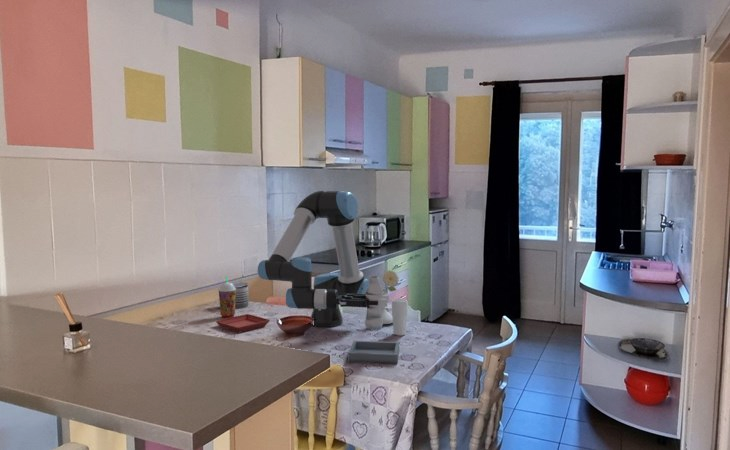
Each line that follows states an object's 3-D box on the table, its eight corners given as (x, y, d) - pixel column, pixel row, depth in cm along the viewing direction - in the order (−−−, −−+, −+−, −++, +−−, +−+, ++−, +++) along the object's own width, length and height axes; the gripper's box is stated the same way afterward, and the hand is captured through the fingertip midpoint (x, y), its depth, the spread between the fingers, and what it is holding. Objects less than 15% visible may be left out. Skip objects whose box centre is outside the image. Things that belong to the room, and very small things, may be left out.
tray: (353, 349, 221) (353, 340, 221) (399, 350, 219) (399, 342, 219) (348, 362, 205) (348, 353, 205) (397, 364, 203) (397, 354, 203)
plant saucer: (214, 327, 255) (214, 320, 255) (247, 320, 268) (247, 313, 268) (237, 334, 243) (237, 327, 243) (270, 327, 256) (270, 319, 256)
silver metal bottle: (364, 327, 214) (364, 275, 212) (381, 327, 214) (382, 275, 213) (365, 331, 207) (366, 278, 206) (383, 331, 208) (384, 278, 206)
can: (248, 308, 292) (248, 285, 291) (226, 309, 289) (225, 286, 288) (248, 303, 303) (248, 281, 302) (226, 304, 300) (226, 282, 300)
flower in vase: (371, 326, 256) (371, 272, 254) (370, 320, 267) (370, 268, 265) (399, 326, 256) (399, 272, 254) (397, 320, 267) (397, 268, 265)
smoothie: (215, 318, 271) (214, 277, 269) (225, 314, 278) (225, 274, 277) (229, 319, 268) (229, 278, 266) (240, 315, 275) (239, 275, 274)
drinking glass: (406, 336, 239) (406, 302, 237) (390, 336, 240) (390, 301, 239) (408, 332, 245) (408, 299, 244) (392, 331, 247) (393, 298, 245)
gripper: (331, 303, 222) (389, 305, 219) (322, 314, 203) (385, 316, 200) (331, 285, 221) (389, 286, 219) (322, 294, 202) (386, 296, 200)
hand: (387, 300), depth 209 cm, fingers closed on silver metal bottle, 6 cm apart
